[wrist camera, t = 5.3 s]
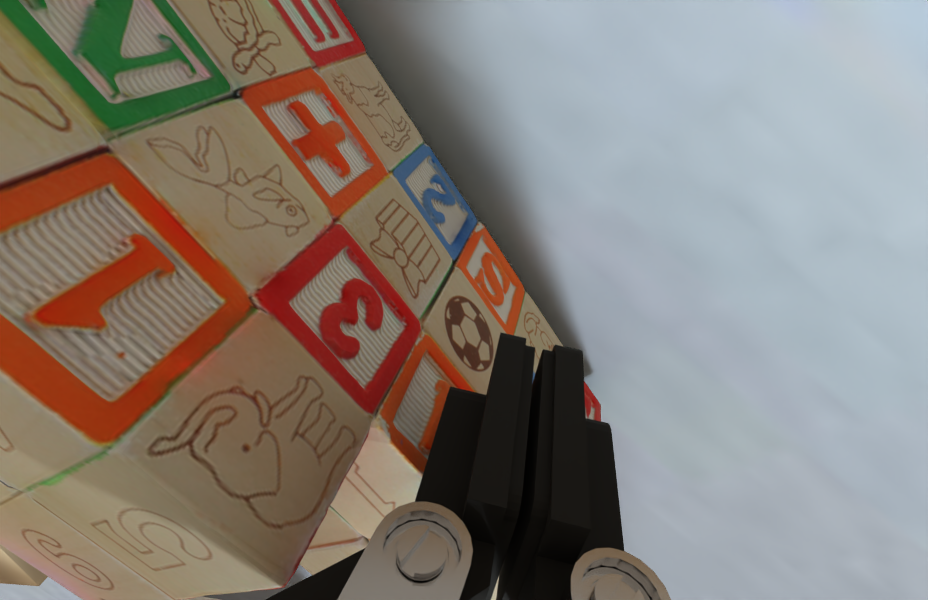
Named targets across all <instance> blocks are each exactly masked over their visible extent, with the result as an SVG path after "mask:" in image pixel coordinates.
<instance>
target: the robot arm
mask: <svg viewBox="0 0 928 600" xmlns="http://www.w3.org/2000/svg"><path fill="white" fill-rule="evenodd" d="M534 358H535V347H532V346H527V345H526V338H524V337H519V336H515V335H510V334H506V333H500V337H499V341H498V345H497V350H496V354H495V358H494V363H493V367H492V372H491V376H490V380H489V385H488V389H487V394H486V395H485V394H480V393H476V392H472V391H468V390H463V389H459V388H455V387H451V386H450V388H449V391H448V394H447V397H446V401H445V404H444V407H443V411H442V414H441V417H440V420H439V424H438V427H437V430H436V433H435V437H434V440H433V443H432V447H431V450H430V453H429V456H428V460H427V463H426V466H425V469H424V473H423V476H422V479H421V483H420V486H419V489H418V492H417V496H416V499H415V502H411V503H408V504H405V505H402V506H399V507H397V508H396V509H394V510H393V511H391V512H390V513H388V514H387V515H386V516H385V517H384V519H383V520H382V521H381V523H380V524H379V525H378V526H377V528H376V530H375V532H374V534H373V535H372V537H371V539H370V541H369V543H368V545H367V546H366V548H364V549H362V550H360V551H358V552H356V553H354V554H352V555H351V556H349V557H347V558H345V559H343V560H341V561H339V562H337V563H335V564H333V565H331V566H329V567H327V568H326V569H324V570H322V571H320V572H318V573H316V574H314V575H312V576H310V577H308V578H306V579H304V580H302V581H301V582H299V583H297V584H295V585H293V586H291V587H289V588H287V589H285V590H283V591H281V592H279V593H277V594H276V595H274V596H272V597H270V598H268V599H266V600H491V598H492V595H493V592H494V589H495V586H496V583H497V580H498V577H499V580H498V588H497V597H496V600H671V599H670V597H669V594H668V592H667V590H666V588H665V586H664V584H663V583H662V582H661V580H660V579H659V578H658V576H657V575H656V574H655V573H654V571H653V570H651V569H650V568H649V567H648V566H647V565H646V564H645V563H643V562H642V561H641V560H640V559H638V558H636V557H634V556H633V555H631V554H629V553H627V552H625V551H624V544H623V535H622V526H621V516H620V507H619V498H618V489H617V479H616V470H615V461H614V451H613V442H612V433H611V428H610V425H609V424H608V423H605V422H601V421H596V420H592V419H588V418H586V413H585V393H584V372H583V354H582V351H581V350H577V349H573V348H568V347H564V346H560V345H554V347H553V349H552V351H549V350H545V349H543V350H542V353H541V356H540V360H539V363H538V366H537V370H536V373H535V377H534V380H533V369H534ZM532 381H533V384H532Z"/></svg>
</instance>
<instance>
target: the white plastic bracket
mask: <svg viewBox="0 0 928 600" xmlns="http://www.w3.org/2000/svg"><path fill="white" fill-rule="evenodd" d="M185 600H220V599H215V598H209V597H203V596H200V597H196V598H191V599H185Z"/></svg>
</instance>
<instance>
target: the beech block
mask: <svg viewBox="0 0 928 600" xmlns="http://www.w3.org/2000/svg"><path fill="white" fill-rule="evenodd" d="M47 577H48V576H47V575H45V574H43V573H42V572H40V571H39V570H37V569H36V568H34V567H33V566H31V565H30V564H28V563H27V562H25V561H24V560H22V559H21V558H19V557H18V556H16V555H15V554H13V553H12V552H10V551H9V550H7V549H6V548H4V547H3V546H1V545H0V583H5V584H18V585H32V586H40V585H41V584H42V582H43V581H44V580H45V579H46V578H47Z"/></svg>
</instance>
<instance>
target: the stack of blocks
mask: <svg viewBox="0 0 928 600" xmlns="http://www.w3.org/2000/svg"><path fill="white" fill-rule="evenodd" d="M500 333H506V334H510V335H515V336H519V337H524V338H526V345H527V346H532V347H535V358H534V369H533V380H534V377H535V373H536V370H537V366H538V363H539V360H540V356H541V353H542V350H543V349H545V350H549V351H552V349H553V347H554V345H560V346H563V345H562V344H561V342H560V341H559V339H558V338H557V336H556V335H555V333H554V332H553V330H552V328H551V327H550V325H549V324H548V322H547V321H546V319H545V318H544V316H543V315H542V313H541V312H540V310H539V309H538V307H537V306H536V304H535V303H534V301H533V300H532V299H531V297H530V296H529V295H528V294H527V293H526V292H525V290H524V287H523V285H522V283H521V282H520V280H519V278H518V277H517V275H516V274H515V272H514V271H513V269H512V268H511V266H510V265H509V263H508V262H507V260H506V258H505V257H504V255H503V254H502V252H501V251H500V249H499V248H498V246H497V244H496V243H495V242H494V240H493V239H492V237H491V236H490V234H489V233H488V231H487V229H486V228H485V226H484V225H483V224H482V223H480V222H479V221H477V219H476V217H475V215H474V214H473V212H472V210H471V209H470V207H469V206H468V204H467V203H466V201H465V200H464V199H463V197H462V196H461V194H460V193H459V191H458V190H457V188H456V186H455V185H454V183H453V182H452V180H451V179H450V177H449V176H448V175H447V173H446V171H445V170H444V168H443V167H442V165H441V164H440V162H439V161H438V159H437V158H436V156H435V155H434V153H433V152H432V150H431V148H430V147H429V146H428V145H427V144H425V143H424V141H423V139H422V137H421V135H420V133H419V132H418V130H417V129H416V127H415V126H414V124H413V123H412V121H411V120H410V118H409V117H408V115H407V114H406V112H405V111H404V109H403V108H402V106H401V104H400V103H399V102H398V100H397V99H396V97H395V96H394V94H393V93H392V91H391V90H390V88H389V87H388V85H387V84H386V82H385V81H384V79H383V78H382V76H381V75H380V73H379V71H378V70H377V68H376V67H375V65H374V64H373V62H372V61H371V60H370V58H369V57H368V56H367V54H366V50H365V47H364V45H363V43H362V41H361V40H360V38H359V37H358V35H357V33H356V32H355V30H354V29H353V27H352V26H351V24H350V22H349V21H348V19H347V18H346V16H345V15H344V13H343V12H342V10H341V9H340V7H339V6H338V4H337V3H336V1H335V0H0V545H1V546H3V547H4V548H6V549H7V550H9V551H10V552H12V553H13V554H15V555H16V556H18V557H19V558H21V559H22V560H24V561H25V562H27V563H28V564H30V565H31V566H33V567H34V568H36V569H37V570H39V571H40V572H42V573H43V574H45V575H47V576H48V577H50V578H51V579H53V580H54V581H56V582H57V583H59V584H60V585H62V586H63V587H65V588H66V589H68V590H69V591H71V592H72V593H74V594H75V595H77V596H78V597H80V598H81V599H83V600H182V599H191V598H196V597H200V596H205V595H216V594H228V593H240V592H248V591H257V590H270V589H278V588H283V587H285V586H286V584H287V583H288V581H289V580H290V579H291V577H292V576H293V574H294V573H295V571H296V569H297V568H298V566H299V564H300V565H301V566H302V567H304V568H305V569H306V570H307V571H308V572H309V573H311V574H312V575H314V574H316V573H318V572H320V571H322V570H324V569H326V568H327V567H329V566H331V565H333V564H335V563H337V562H339V561H341V560H343V559H345V558H347V557H349V556H351V555H352V554H354V553H356V552H358V551H360V550H362V549H364V548H366V546H367V545H368V543H369V541H370V539H371V537H372V535H373V534H374V532H375V530H376V528H377V526H378V525H379V524H380V523H381V521H382V520H383V519H384V517H385V516H386V515H387V514H388V513H390V512H391V511H393V510H394V509H396V508H397V507H399V506H402V505H405V504H408V503H411V502H415V499H416V496H417V492H418V489H419V486H420V483H421V479H422V476H423V473H424V469H425V466H426V463H427V460H428V456H429V453H430V450H431V447H432V443H433V440H434V437H435V433H436V430H437V427H438V424H439V420H440V417H441V414H442V411H443V407H444V404H445V401H446V397H447V394H448V391H449V388H450V386H451V387H455V388H459V389H463V390H468V391H472V392H476V393H480V394H485V395H486V394H487V389H488V385H489V380H490V376H491V372H492V367H493V363H494V358H495V354H496V350H497V345H498V341H499V337H500ZM532 384H533V381H532ZM584 393H585V413H586V418H588V419H592V420H596V421H601V405H600V403H599V402H598V400H597V399H596V397H595V396H594V395H593V393H592V392H591V390H590V389H589V387H588V386H587V384H586V383H585V382H584ZM498 580H499V577H498ZM498 580H497V583H496V586H495V589H494V592H493V595H492V598H491V600H496V597H497V588H498Z"/></svg>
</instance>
